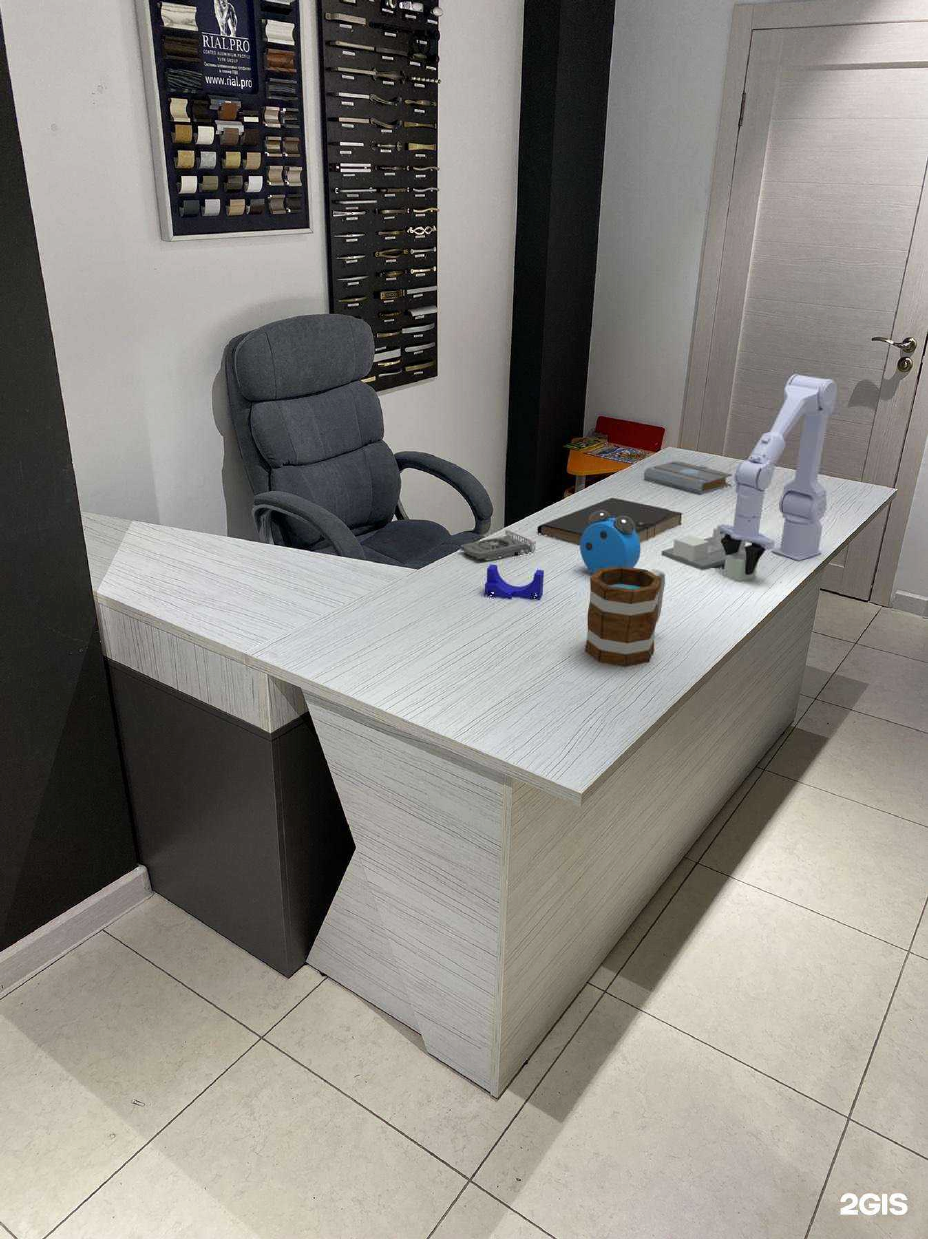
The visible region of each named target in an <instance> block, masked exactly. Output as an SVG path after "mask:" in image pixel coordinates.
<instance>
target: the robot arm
mask: <svg viewBox="0 0 928 1239" xmlns="http://www.w3.org/2000/svg"><path fill="white" fill-rule="evenodd" d="M837 393H838V386H837V384H836V383H835V381H834V380H833V379H832V378H827V379H826V378H821V377H814V376H806V375H801V374H796V373H795V374H793V375H791V377H790V378H789V379H788V380H787V382H786V384H785V387H784V391H783V401H784V403H783V404H782V406H781V407H780V408H781V409H780V411H779V413H778V415H777V416H776V418H775V421H774V423H773V425H772V427H771V429H770V431H769V432H766V433H763V434H762V435H761V436H760V438H759V440H758V442H757V443H756V445H755V447H754V448H753V449H752V451H751V453H750V455H749V457H748V458H747V460H745V461H742V462H740V463H739V464H738V466H737V468H736V469H735V473H734V474H733V476H734V477H733V478H734V483H735V493H737V496H736V504H735V511H734V519H733V525H730V524H724V523H720V524H718V525H717V527H716V528H717V533H718V534H724V535H725V537H724V538H722V539H721V543H722V545H723V547H724V550H725V554H726V556H727V555H730V554H733V553H737V552H738V551H739V548H740V545H741V542H742V541H745V542H746V543H749V545H745V551H746V567H745V574H746V575H749V574H752V573H753V572H754V569H755V567H756V565H757V566H758V563H759V560H761V557H762V556H763V555H764V553H765V552H766V551H770V550H772V553H775V554H778V555H780V556H783V557H786V558H790V559H793V560H796V561H803V560H805V559H808V558H811V557H814V556H817V555H820V554H822V551H821V550H819V549H820V544H821V537H822V532H823V525H822V523H821V519H822V518H823V517H824V516H825V513H826V511H827V508H828V507H827V506H828V504H827V490H826V488H825V487H824V486H822V484H821V483H820V482H819V481H818V477H819V471H820V466H821V461H822V460H821V459H822V453H823V450H824V449H823V448H824V441H825V436H826V430H827V429H826V428H827V424H828V419H829V414H832V413H834V409H835V405H836V398H837ZM802 415H804V420H803V426H802V431H801V439H800V444H799V451H798V457H797V464H796V469H795V473H794V474H795V476H794V479H793V480H791V481H790V482H788V483H786V484H785V485H784V486H783V490H782V494H781V495H780V498H779V501H778V509H779V512H780V513H781V514H782V518H784V521H783V526H782V527H783V528H782V535H781V542H780V547H776V548H774V547H775V539H771V538H769V537H767V536H765V535H764V534H762V533H760V525H761V519H762V511H763V504H764V497H765V490H766V489H767V488H768V487H769V485H770V484H771V483H772V480H773V475H774V472H775V469H776V468H775V465H776V464H777V462H778V460H779V458H780V457H781V455H782V453H783V452H784V451H785V448H786V442H785V439H786V437H787V436H788V435H789V433H790V432H791V430H792V429H793V428H794V426H795V425H796V423H797V422H798V421H799V419H800V418H801V417H802ZM729 525H730V526H729Z"/></svg>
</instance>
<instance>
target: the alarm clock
mask: <svg viewBox="0 0 928 1239" xmlns="http://www.w3.org/2000/svg"><path fill="white" fill-rule="evenodd" d="M607 517H612V518H608V519H605V518H607ZM613 517H615V516H613V515H609V513H608V512H607V511H604V510H600V511H597V510H596V512H594V513H593V514H591V516H590V518H589V523H593V522H596V521H600V522H597V523H594V524H592V525H590V526H589V527H588V528H587V529H586V530H585V531H584V533H583V535H582V537H581V541H580V545H579V550H580V555H581V559H582V561H583V563H584V565H585V566H586V568H587V569H588V570H589V571H590V572H591V573H592V574H594V572H595V571H596V570H597V569H603V568H609V567H616V566H624V567H631V568H635V566H636V565H637V564H638V562H639V559H640V556H641V543H640V541H639V538H638V535H637V533H636V532H635V530H634V529H635V525H634V522H633V521H632V520H631V519H630V518H629V517H627V516H619V517H617V518H613ZM602 519H605V520H602ZM601 520H602V521H601Z"/></svg>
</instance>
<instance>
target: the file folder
mask: <svg viewBox="0 0 928 1239" xmlns="http://www.w3.org/2000/svg"><path fill="white" fill-rule="evenodd" d="M596 510H597V511H600V510H604V511H607V512H608V513H609V515H613V516H615V517H613V518H617V517H619V516H627V517H629V518H630V519H631V520H632V521H633V522H634V525H635V529H634V530H635V532H636V533H637V535H638V538H639V541H640V544H641V543H642V542H644V541H647V540H649V539H650V538H654V537H655V536H657V535H659V534H660V533H662V532H665V531H667V530H669V529H673V528H676V527H677V526H681V525H682V515H683V512H680V511H675V510H670V509H668V508H664V507H659V506H653V505H649V504H644V503H639V502H635V501H629V500H624V499H619V498H616V497H610V498H607V499H605V500H602V501H600V502H597V503H594V504H592V505H589V506H586V507H584V508H582V509H579V510H575V511H573V512H571V513H568V514H565V515H563V516H561V517H558V518H555V519H553V520H550V521H547V522H545V523H541V524H540V525H538V526H537V530H536V531H537V533H538V535H541V534H542V535H541V536H544V535H547V536H546V537H548V536H550V537H549V538H551V537H555V538H556V540H559V539H561V540H560V541H562V542H567V543H570V544H573V545H577V546H580V541H581V537H582V535H583V533H584V531H585V530H586V529H587V528H588V527H589V526H590V525H592V524H594V523H597V522H600V521H596V522H593V523H589V518H590V516H591V514H593V513H594V512H596ZM608 518H612V517H607V518H605V519H608ZM605 519H602V520H605ZM602 520H601V521H602ZM539 533H541V534H539ZM555 538H554V539H555Z"/></svg>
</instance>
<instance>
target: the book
mask: <svg viewBox="0 0 928 1239" xmlns="http://www.w3.org/2000/svg"><path fill="white" fill-rule="evenodd" d="M732 476H733V474H732V473H728V472H723V471H720V470H715V469H711V468H708V466H705V465H701V464H700V465H695V464H691V463H686V462H682V461H680V460H674V461H671V462H667V463H663V464H659V465H656V466H655V465H654V466H650V467H647V468H645V470H644V473H643V477H644V480H645V479H646V480H645V481H647V480H651V481H654V482H658V483H661V484H660V485H662V484H665V485H664V486H666V485H668V486H667V487H670V486H673V487H675V488H674V489H677V488H678V489H677V490H681V489H683V490H682V491H685V490H686V491H685V492H688V491H690V493H692V492H693V493H692V494H696V493H697V494H696V495H699V496H700V495H701V496H702V495H706V494H708V493H711V492H715V491H718V489H719V490H723V489H725V488H724V487H726V488H728V487H727V486H729V487H731V486H732V484H731V483H727V481H726V478H729V477H732ZM651 481H650V482H651ZM654 482H653V483H654ZM658 483H657V484H658ZM673 487H672V488H673ZM722 488H723V489H722ZM705 493H706V494H705Z"/></svg>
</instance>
